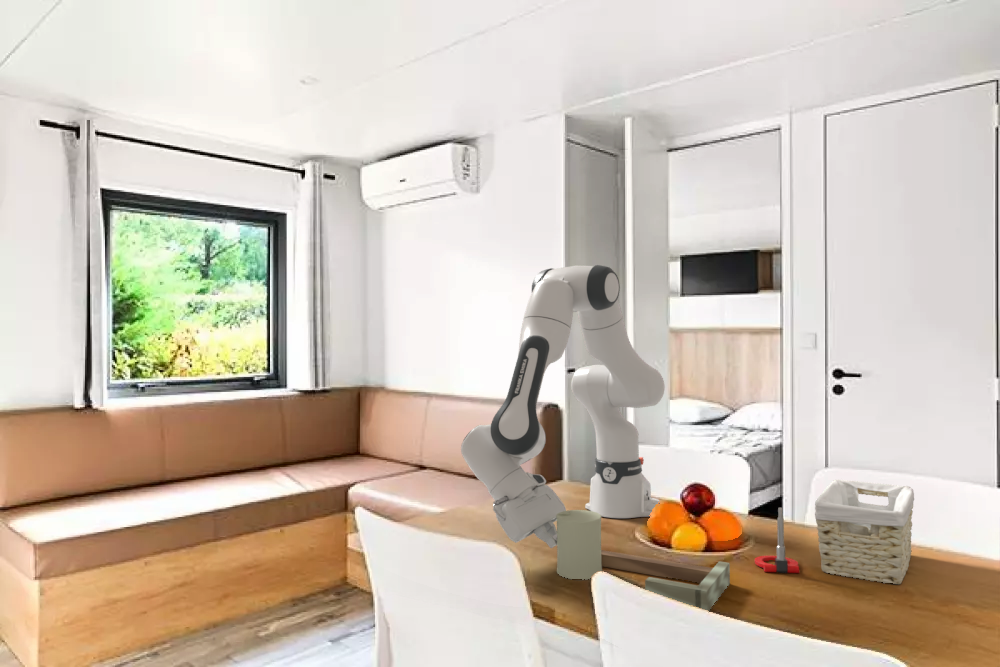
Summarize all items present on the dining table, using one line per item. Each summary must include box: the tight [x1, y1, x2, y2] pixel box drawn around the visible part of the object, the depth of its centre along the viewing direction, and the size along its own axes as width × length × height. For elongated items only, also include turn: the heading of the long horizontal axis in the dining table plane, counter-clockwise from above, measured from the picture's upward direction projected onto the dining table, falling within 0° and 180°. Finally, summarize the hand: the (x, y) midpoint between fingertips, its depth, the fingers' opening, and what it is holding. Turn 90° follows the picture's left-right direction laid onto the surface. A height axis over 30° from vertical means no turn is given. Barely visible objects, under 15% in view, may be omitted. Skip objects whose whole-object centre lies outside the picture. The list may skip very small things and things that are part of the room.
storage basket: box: [814, 479, 915, 585], centre depth 147 cm, size 24×16×15 cm
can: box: [556, 509, 603, 581], centre depth 145 cm, size 9×9×12 cm
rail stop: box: [601, 549, 731, 612], centre depth 138 cm, size 16×30×4 cm, turn 59°
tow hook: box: [754, 507, 800, 574], centre depth 147 cm, size 8×13×9 cm
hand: (556, 544), depth 148 cm, fingers closed
